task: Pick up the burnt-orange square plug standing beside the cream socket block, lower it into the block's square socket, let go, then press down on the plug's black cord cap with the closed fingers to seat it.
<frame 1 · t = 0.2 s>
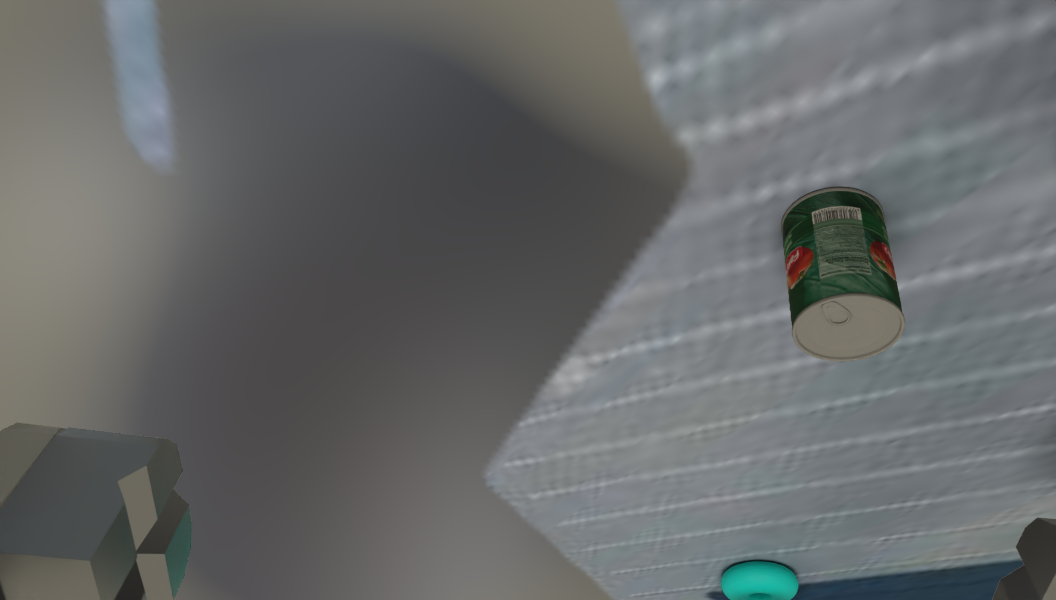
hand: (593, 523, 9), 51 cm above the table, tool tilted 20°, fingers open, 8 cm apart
donuts: (758, 572, 130), on the table
canned tomato: (831, 219, 78), on the table
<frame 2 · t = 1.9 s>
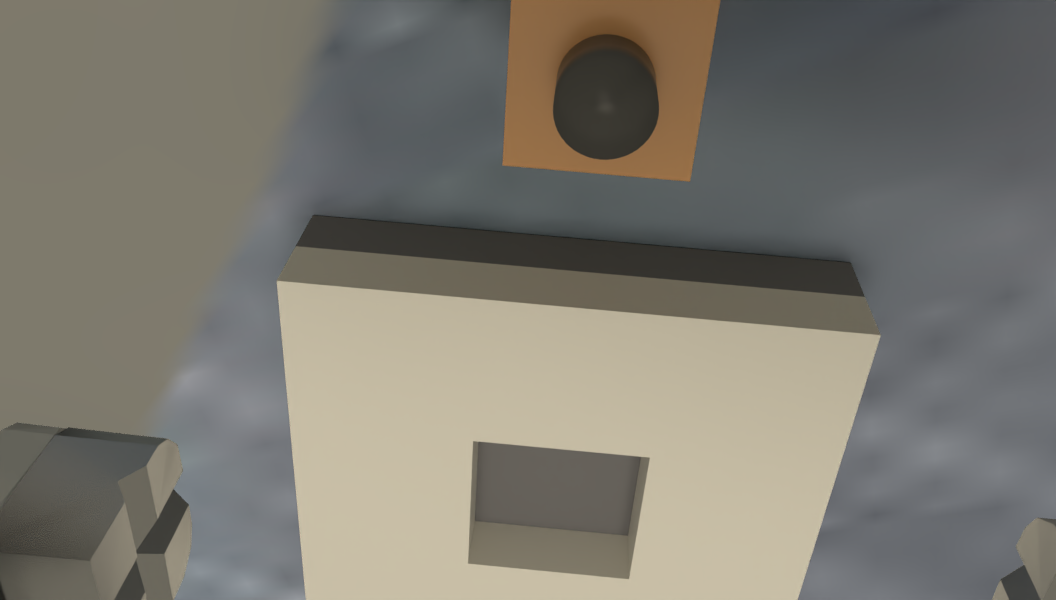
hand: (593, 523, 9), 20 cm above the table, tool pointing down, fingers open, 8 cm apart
socket block: (559, 433, 35), on the table
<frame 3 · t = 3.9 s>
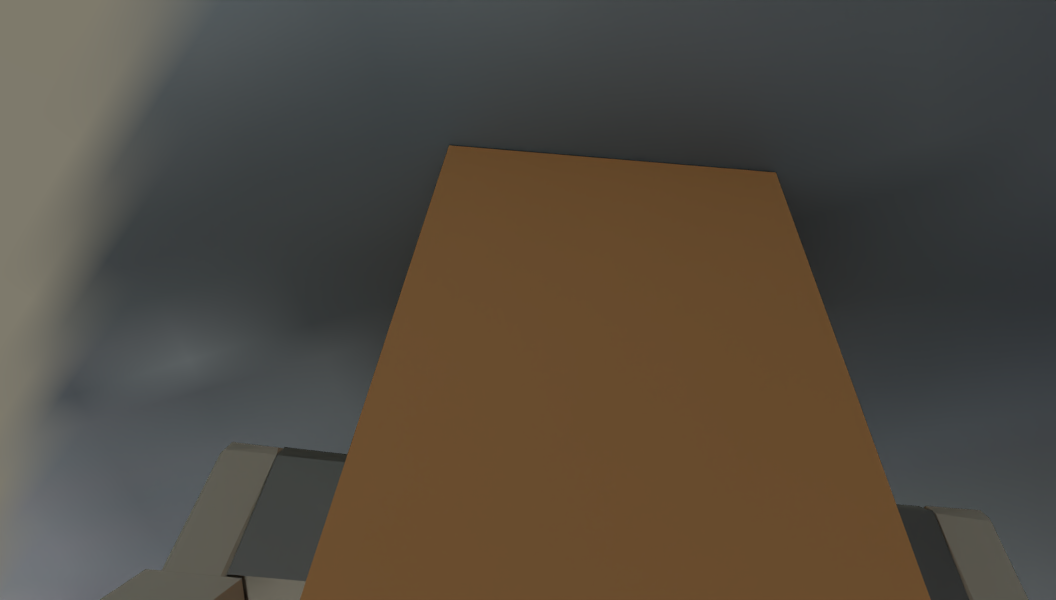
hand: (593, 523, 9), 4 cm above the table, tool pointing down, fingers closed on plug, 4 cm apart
plug: (595, 296, 13), on the table, touching gripper
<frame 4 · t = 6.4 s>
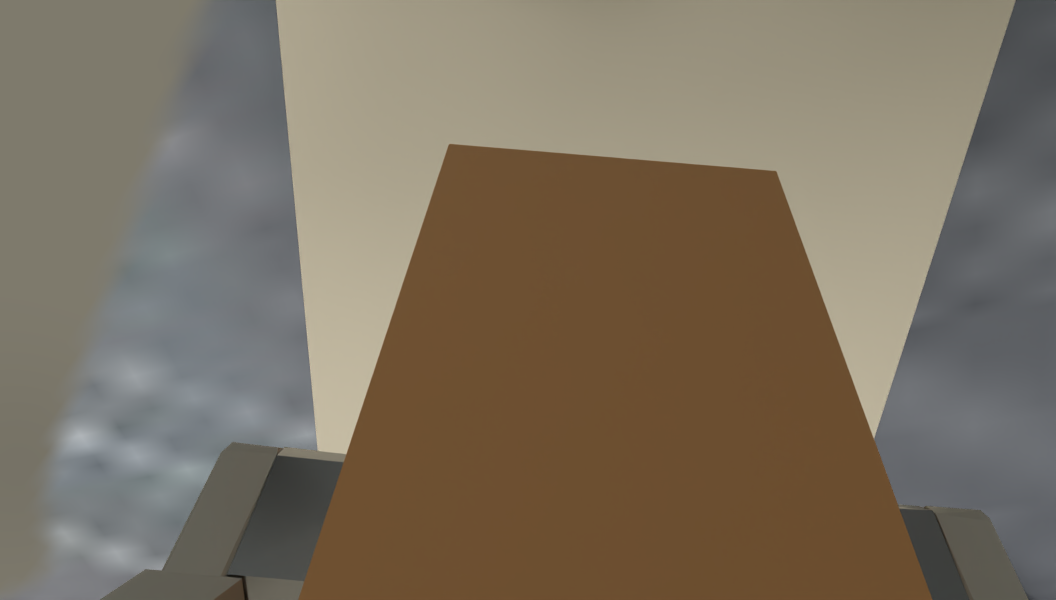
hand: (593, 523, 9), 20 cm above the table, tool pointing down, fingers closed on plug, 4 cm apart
plug: (595, 295, 13), point 16 cm above the table, touching gripper
socket block: (606, 203, 30), on the table
when the fingers open (7 cm above the table, at t = 8.9 s): plug stays where it is, resting on socket block.
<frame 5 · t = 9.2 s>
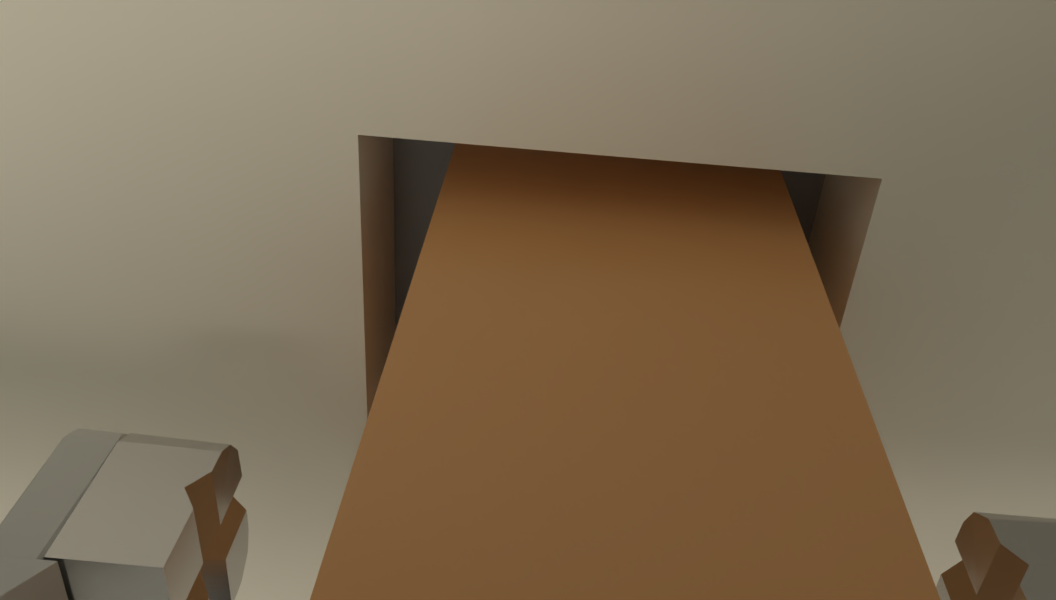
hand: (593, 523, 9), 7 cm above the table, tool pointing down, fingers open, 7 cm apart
plug: (600, 280, 13), point 2 cm above the table, touching socket block
socket block: (594, 215, 15), on the table
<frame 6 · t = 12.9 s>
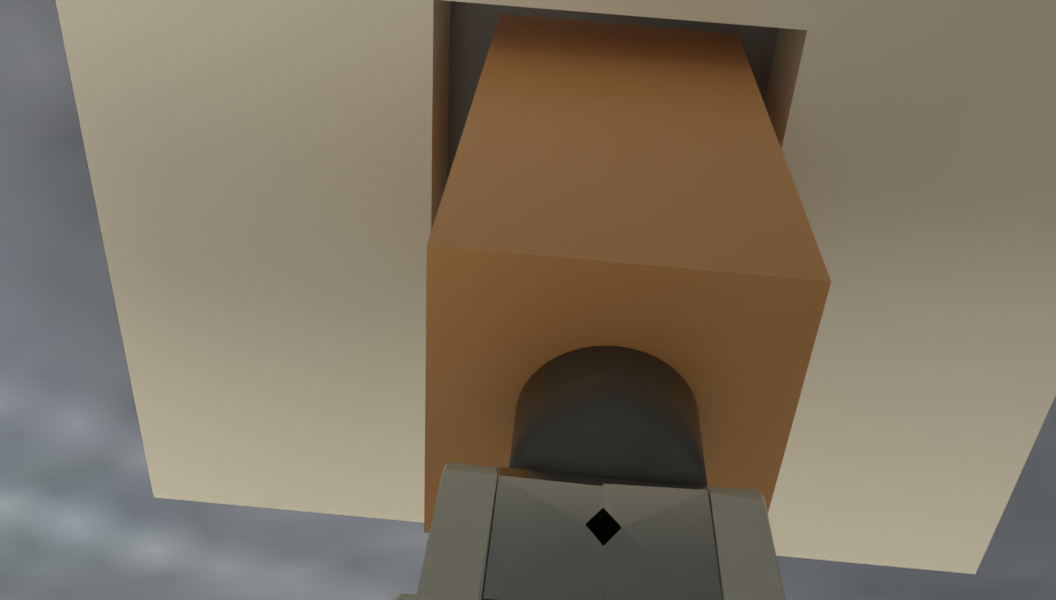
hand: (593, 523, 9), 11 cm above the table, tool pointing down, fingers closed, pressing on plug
plug: (606, 134, 17), point 2 cm above the table, touching gripper, socket block
socket block: (601, 96, 19), on the table
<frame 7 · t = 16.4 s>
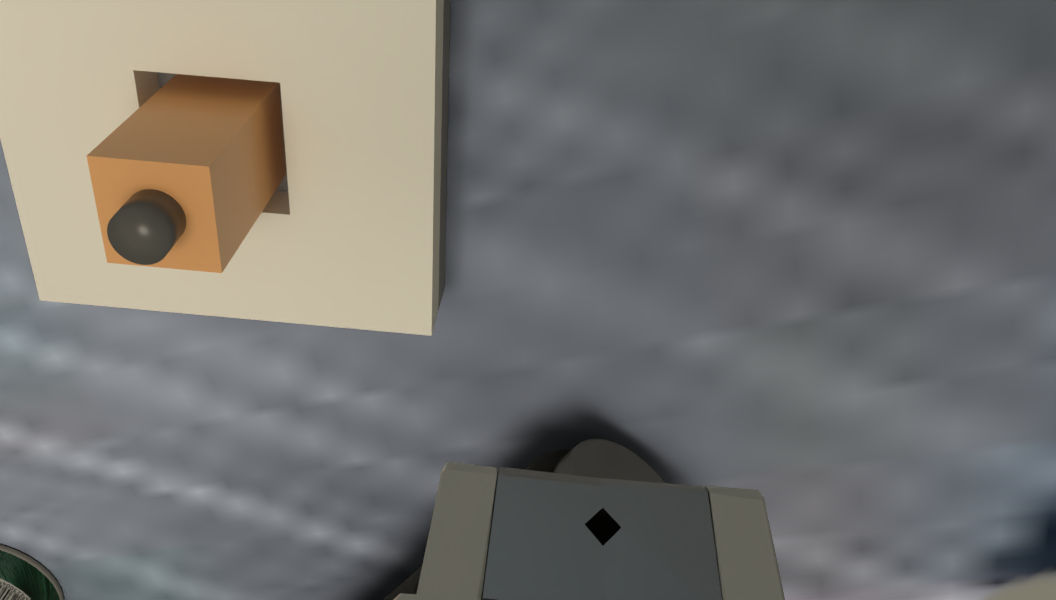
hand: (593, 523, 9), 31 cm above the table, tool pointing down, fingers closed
plug: (233, 124, 39), point 2 cm above the table, touching socket block
muzzle brake: (465, 568, 55), on the table
socket block: (246, 107, 41), on the table
canned tomato: (0, 583, 59), on the table
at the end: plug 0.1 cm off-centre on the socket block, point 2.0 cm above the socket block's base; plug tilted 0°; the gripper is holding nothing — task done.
